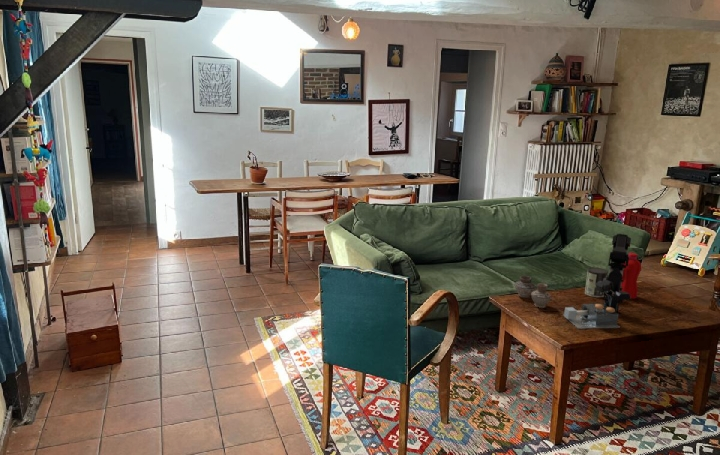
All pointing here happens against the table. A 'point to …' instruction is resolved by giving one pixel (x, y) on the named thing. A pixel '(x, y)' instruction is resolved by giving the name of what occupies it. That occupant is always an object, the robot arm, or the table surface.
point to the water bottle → (631, 275)
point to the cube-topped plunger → (574, 313)
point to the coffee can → (595, 281)
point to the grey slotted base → (595, 318)
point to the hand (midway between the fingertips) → (610, 306)
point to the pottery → (533, 291)
